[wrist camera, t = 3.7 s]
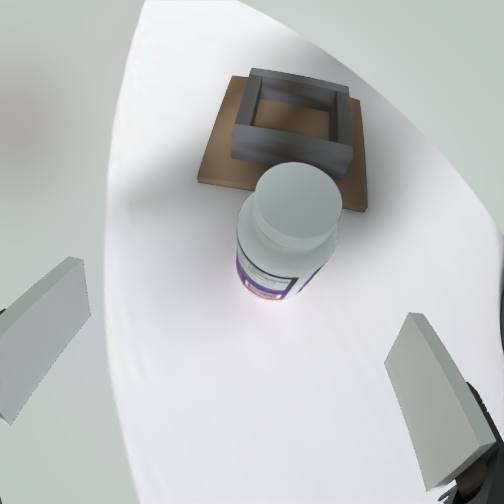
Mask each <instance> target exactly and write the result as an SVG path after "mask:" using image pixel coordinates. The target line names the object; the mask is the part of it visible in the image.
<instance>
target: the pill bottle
mask: <svg viewBox="0 0 504 504" xmlns="http://www.w3.org/2000/svg"><path fill="white" fill-rule="evenodd" d="M341 213H342V198H341V194H340V192H339V190H338V187H337V186H336V184H335V183H334V181H333V180H332V179H331V178H330V177H329V176H328V175H327V174H326V173H324V172H323V171H321V170H320V169H318V168H316V167H314V166H311V165H308V164H305V163H298V162H290V163H283V164H279V165H276V166H274V167H272V168H271V169H269V170H268V171H266V172H265V173H264V174H263V175H262V177H261V178H260V179H259V181H258V183H257V186H256V189H255V191H254V192H253V193H252V194H251V195H250V196H249V197H248V198H247V199H246V201H245V202H244V204H243V206H242V208H241V210H240V213H239V216H238V224H237V259H236V265H237V272H238V276H239V278H240V280H241V282H242V284H243V285H244V286H245V288H246V289H247V290H248V291H249V292H250V293H252V294H253V295H255V296H256V297H258V298H261V299H263V300H267V301H282V300H286V299H289V298H291V297H293V296H294V295H296V294H297V293H298V292H300V291H301V290H302V289H303V288H304V287H305V286H306V285H307V284H308V282H309V281H310V280H311V279H312V278H313V277H314V275H315V274H316V273H317V272H318V271H319V270H320V269H321V268H322V266H323V265H324V264H325V263H326V262H327V261H328V259H329V258H330V256H331V255H332V253H333V251H334V249H335V246H336V243H337V239H338V224H337V223H338V221H339V219H340V216H341Z"/></svg>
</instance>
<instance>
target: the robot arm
mask: <svg viewBox="0 0 504 504" xmlns="http://www.w3.org/2000/svg"><path fill="white" fill-rule="evenodd" d="M90 316H91V314H90V308H89V303H88V295H87V287H86V280H85V271H84V261H83V260H82V259H78V258H73V257H68V258H66V259H65V260H64V261H63V262H61V263H60V264H59V265H58V266H56V267H55V268H54V269H53V270H51V271H50V272H49V273H48V274H46V275H45V276H44V277H43V278H42V279H41V280H39V281H38V282H37V283H36V284H34V285H33V286H32V287H31V288H30V289H29V290H28V291H26V292H25V293H24V294H23V295H22V296H21V297H20V298H18V299H17V300H16V301H15V302H14V303H13V304H12V305H11V306H10V307H9V308H7V309H3V310H1V311H0V420H1V421H3V422H4V423H6V424H7V425H9V426H11V425H12V423H13V421H14V420H15V418H16V417H17V415H18V414H19V412H20V411H21V409H22V408H23V406H24V405H25V403H26V402H27V400H28V399H29V397H30V396H31V394H32V393H33V392H34V390H35V389H36V387H37V386H38V384H39V383H40V381H41V380H42V379H43V377H44V376H45V375H46V373H47V372H48V370H49V369H50V368H51V366H52V365H53V364H54V362H55V361H56V360H57V358H58V357H59V355H60V354H61V353H62V352H63V350H64V349H65V348H66V346H67V345H68V344H69V342H70V341H71V340H72V339H73V337H74V336H75V334H76V333H77V332H78V331H79V330H80V328H81V327H82V326H83V324H84V323H85V322H86V321H87V320H88V318H89V317H90ZM501 328H502V340H503V347H504V293H503V300H502V311H501ZM384 364H385V367H386V369H387V372H388V375H389V377H390V380H391V383H392V385H393V388H394V391H395V393H396V396H397V399H398V402H399V405H400V407H401V410H402V413H403V416H404V419H405V422H406V425H407V428H408V431H409V434H410V437H411V440H412V443H413V446H414V450H415V453H416V456H417V459H418V463H419V466H420V470H421V473H422V477H423V480H424V484H425V487H426V491H427V492H429V491H432V490H436V489H440V488H443V487H445V486H446V485H448V484H449V483H450V482H451V481H453V480H454V479H455V480H456V483H457V484H456V485H455V486H454V487H452V488H451V489H450V490H448V491H447V492H446V493H444V494H443V495H442V496H440V498H439V499H438V501H441V500H443V499H444V498H446V497H447V496H448V495H449V497H448V499H447V500H445V501H444V502H443V503H444V504H504V442H503V440H502V438H501V436H500V434H499V432H498V430H497V428H496V426H495V424H494V422H493V420H492V418H491V416H490V414H489V412H487V409H486V407H485V405H484V403H482V402H483V401H482V399H481V398H480V396H479V394H478V392H477V391H476V390H475V389H474V388H473V387H472V386H471V385H470V384H469V383H468V382H466V381H465V380H464V378H463V376H462V375H461V373H460V371H459V369H458V368H457V366H456V364H455V363H454V361H453V359H452V358H451V356H450V354H449V353H448V351H447V350H446V348H445V346H444V345H443V343H442V342H441V340H440V339H439V337H438V335H437V334H436V332H435V331H434V329H433V328H432V326H431V325H430V323H429V322H428V320H427V319H426V317H425V316H424V314H419V313H410V312H409V313H408V315H407V317H406V319H405V322H404V324H403V326H402V328H401V330H400V332H399V334H398V336H397V338H396V340H395V342H394V344H393V346H392V348H391V350H390V352H389V354H388V356H387V358H386V360H385V362H384ZM0 504H2V502H1V498H0Z"/></svg>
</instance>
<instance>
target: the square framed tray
mask: <svg viewBox="0 0 504 504" xmlns="http://www.w3.org/2000/svg"><path fill="white" fill-rule="evenodd" d="M290 162H298V163H305V164H308V165H311V166H314V167H316V168H318V169H320V170H321V171H323V172H324V173H326V174H327V175H328V176H329V177H330V178H331V179H332V180H333V181H334V183H335V184H336V186H337V187H338V190H339V192H340V194H341V198H342V208H345V209H350V210H355V211H359V212H365V210H366V209H367V182H366V164H365V149H364V137H363V126H362V117H361V108H360V100H357V99H353V98H350V97H349V88H348V87H347V86H343V85H339V84H335V83H331V82H327V81H323V80H319V79H314V78H309V77H305V76H300V75H294V74H289V73H283V72H277V71H271V70H265V69H257V68H251V71H250V74H249V77H241V76H232V78H231V80H230V83H229V85H228V88H227V91H226V93H225V96H224V99H223V101H222V104H221V107H220V110H219V113H218V115H217V118H216V121H215V124H214V127H213V130H212V133H211V136H210V139H209V141H208V144H207V148H206V151H205V154H204V157H203V160H202V163H201V166H200V169H199V172H198V176H197V179H198V182H200V183H207V184H214V185H221V186H227V187H233V188H240V189H246V190H252V191H255V189H256V186H257V183H258V181H259V179H260V178H261V177H262V175H263V174H264V173H265V172H266V171H268V170H269V169H271V168H272V167H274V166H276V165H279V164H283V163H290Z"/></svg>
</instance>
